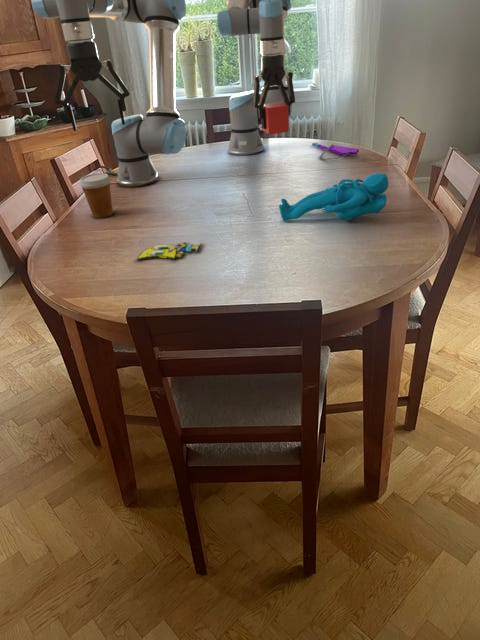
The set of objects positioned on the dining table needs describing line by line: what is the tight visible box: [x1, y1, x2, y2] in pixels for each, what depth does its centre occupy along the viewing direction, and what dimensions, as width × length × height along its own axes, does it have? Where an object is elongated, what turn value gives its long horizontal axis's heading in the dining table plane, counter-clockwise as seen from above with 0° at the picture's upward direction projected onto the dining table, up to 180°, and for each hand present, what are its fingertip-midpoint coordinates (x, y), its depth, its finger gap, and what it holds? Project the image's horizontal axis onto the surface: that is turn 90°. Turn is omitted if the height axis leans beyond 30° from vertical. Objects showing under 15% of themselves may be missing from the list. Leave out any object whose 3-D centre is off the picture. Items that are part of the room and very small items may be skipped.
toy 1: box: [137, 241, 202, 262], centre depth 126 cm, size 10×1×15 cm
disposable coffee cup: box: [79, 172, 114, 219], centre depth 152 cm, size 10×10×12 cm
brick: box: [261, 102, 290, 136], centre depth 171 cm, size 8×8×9 cm
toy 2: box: [278, 172, 389, 222], centre depth 135 cm, size 17×11×30 cm
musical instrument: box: [311, 142, 360, 160], centre depth 196 cm, size 24×2×20 cm
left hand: (99, 127), depth 138 cm, fingers open, 13 cm apart
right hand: (274, 126), depth 173 cm, fingers closed on brick, 8 cm apart
